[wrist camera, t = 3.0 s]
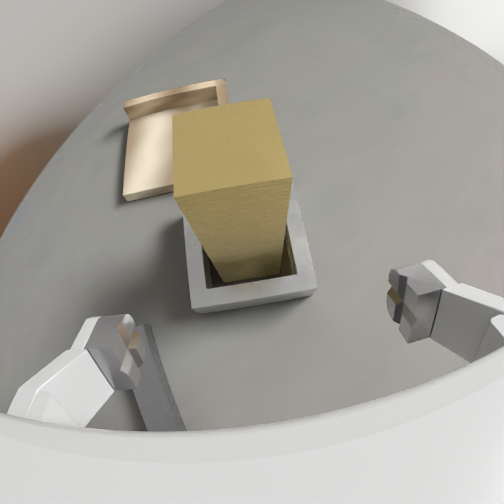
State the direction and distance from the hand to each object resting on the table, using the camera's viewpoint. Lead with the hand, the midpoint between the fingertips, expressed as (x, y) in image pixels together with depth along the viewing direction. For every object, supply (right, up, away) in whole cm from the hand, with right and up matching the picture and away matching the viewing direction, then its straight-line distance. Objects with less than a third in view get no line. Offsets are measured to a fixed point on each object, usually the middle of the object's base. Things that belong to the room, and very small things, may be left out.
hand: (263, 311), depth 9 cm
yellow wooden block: (-1, +2, +16) cm, 16 cm away
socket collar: (-1, +2, +16) cm, 16 cm away
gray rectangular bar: (-8, -9, +13) cm, 18 cm away
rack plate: (-8, +13, +20) cm, 25 cm away
